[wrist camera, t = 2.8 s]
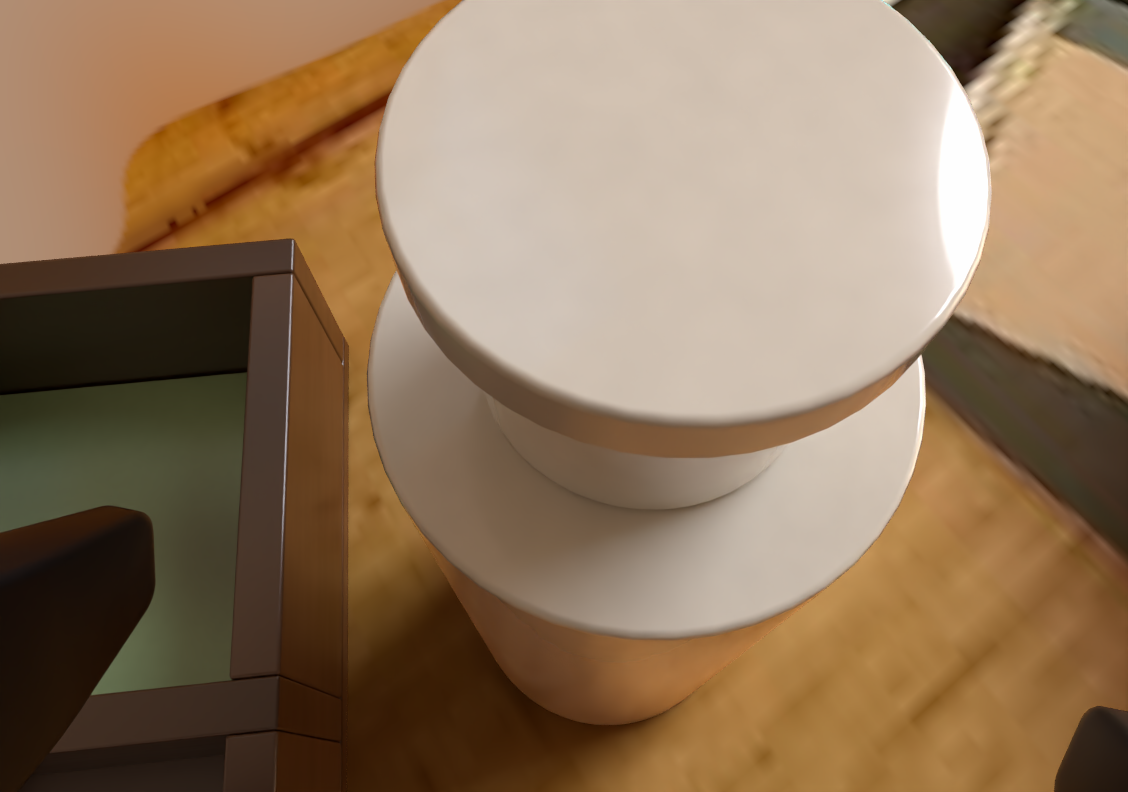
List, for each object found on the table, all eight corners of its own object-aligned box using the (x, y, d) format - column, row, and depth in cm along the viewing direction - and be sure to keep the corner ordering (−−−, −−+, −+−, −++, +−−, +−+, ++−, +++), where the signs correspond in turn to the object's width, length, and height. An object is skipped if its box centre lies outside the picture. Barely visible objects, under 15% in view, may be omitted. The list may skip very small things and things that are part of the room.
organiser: (346, 1293, 14) (251, 1509, 10) (-233, 1368, 13) (-586, 1625, 9) (348, 344, 21) (294, 236, 17) (-30, 379, 21) (-180, 278, 16)
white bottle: (594, 786, 17) (664, 784, 4) (427, 577, 18) (106, 110, 6) (785, 603, 18) (1286, 172, 5) (614, 424, 20) (688, -220, 7)
